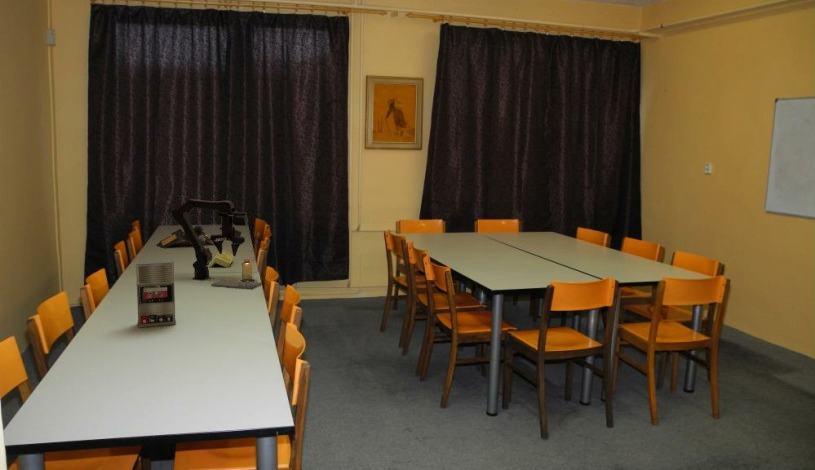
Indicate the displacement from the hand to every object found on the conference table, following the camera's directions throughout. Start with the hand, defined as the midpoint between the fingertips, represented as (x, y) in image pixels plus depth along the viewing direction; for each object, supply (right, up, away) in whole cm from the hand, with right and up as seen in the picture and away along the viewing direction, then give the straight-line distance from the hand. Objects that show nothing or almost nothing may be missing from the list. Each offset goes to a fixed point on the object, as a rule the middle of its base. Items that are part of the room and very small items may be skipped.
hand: (227, 255), depth 326 cm
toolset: (-56, +4, +102) cm, 117 cm away
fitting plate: (+7, -15, -10) cm, 19 cm away
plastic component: (-14, -7, +39) cm, 42 cm away
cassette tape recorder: (-6, -25, -77) cm, 81 cm away
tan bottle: (+13, -14, -11) cm, 22 cm away
